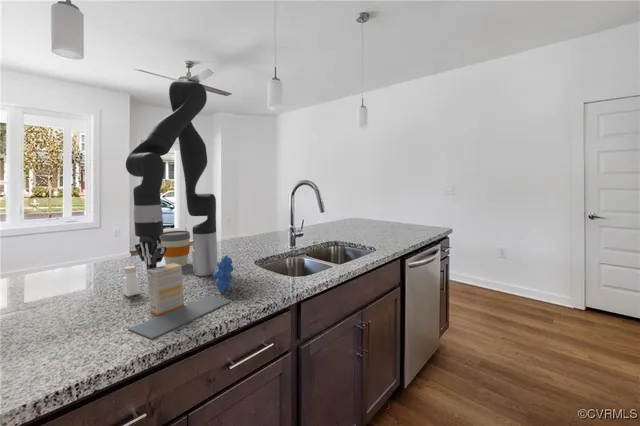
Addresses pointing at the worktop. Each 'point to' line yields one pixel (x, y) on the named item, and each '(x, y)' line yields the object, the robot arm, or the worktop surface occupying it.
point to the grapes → (223, 273)
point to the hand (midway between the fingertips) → (152, 275)
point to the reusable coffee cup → (176, 247)
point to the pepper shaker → (131, 281)
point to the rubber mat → (178, 317)
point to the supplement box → (165, 288)
